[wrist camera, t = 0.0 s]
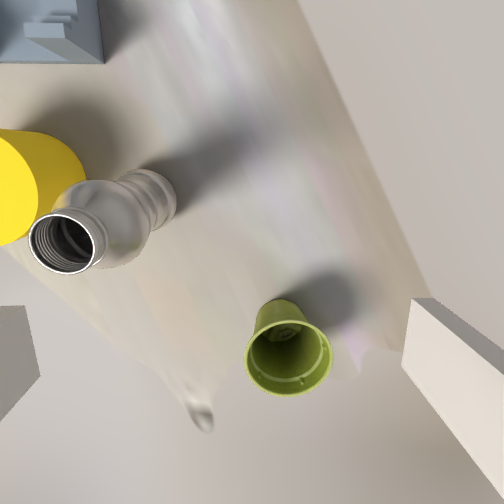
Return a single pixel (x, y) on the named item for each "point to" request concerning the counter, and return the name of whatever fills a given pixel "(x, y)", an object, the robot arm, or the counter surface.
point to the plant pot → (287, 351)
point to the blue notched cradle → (50, 32)
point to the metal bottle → (102, 222)
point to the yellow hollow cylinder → (32, 179)
